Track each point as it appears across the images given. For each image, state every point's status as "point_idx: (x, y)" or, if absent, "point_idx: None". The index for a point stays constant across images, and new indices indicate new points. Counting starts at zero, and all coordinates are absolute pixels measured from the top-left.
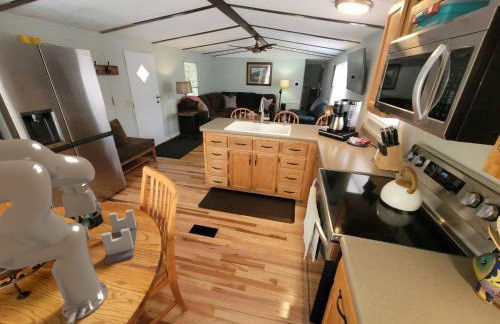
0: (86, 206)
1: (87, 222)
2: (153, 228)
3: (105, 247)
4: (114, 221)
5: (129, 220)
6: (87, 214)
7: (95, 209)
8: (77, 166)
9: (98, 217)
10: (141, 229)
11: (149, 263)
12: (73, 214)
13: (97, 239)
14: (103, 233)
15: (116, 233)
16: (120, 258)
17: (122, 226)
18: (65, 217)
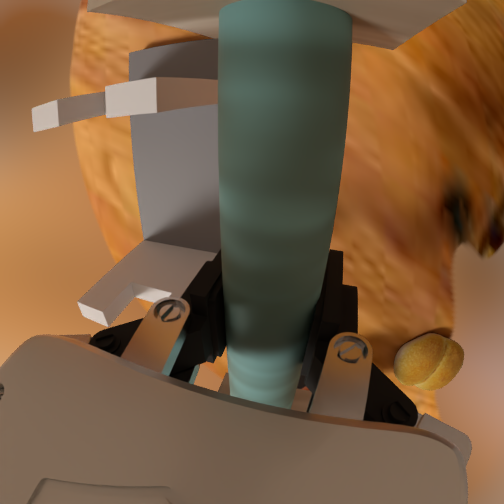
0: (9, 487)
1: (224, 256)
2: (98, 214)
3: (209, 80)
4: None
5: (130, 272)
6: (259, 397)
7: (7, 359)
8: None
9: (301, 380)
10: (136, 231)
11: (92, 18)
12: (351, 481)
13: None
14: (146, 111)
15: (220, 245)
16: (174, 44)
17: (178, 264)
18: (460, 432)
